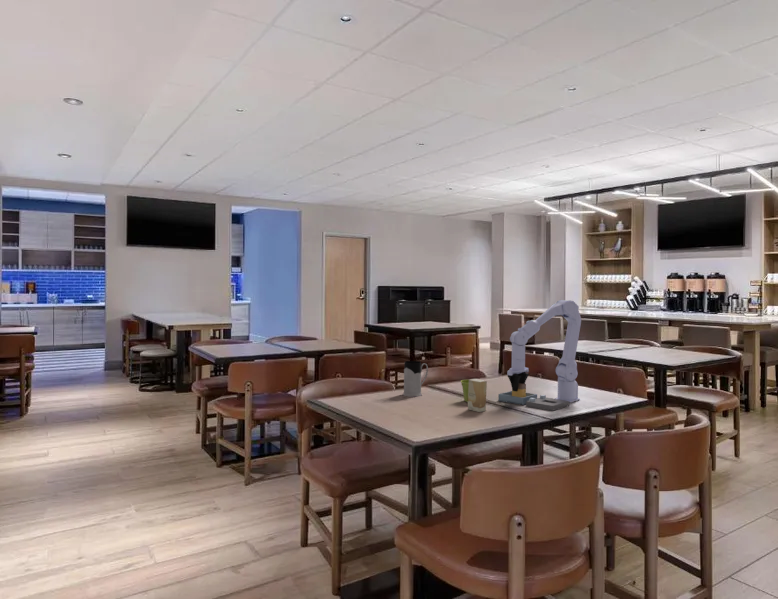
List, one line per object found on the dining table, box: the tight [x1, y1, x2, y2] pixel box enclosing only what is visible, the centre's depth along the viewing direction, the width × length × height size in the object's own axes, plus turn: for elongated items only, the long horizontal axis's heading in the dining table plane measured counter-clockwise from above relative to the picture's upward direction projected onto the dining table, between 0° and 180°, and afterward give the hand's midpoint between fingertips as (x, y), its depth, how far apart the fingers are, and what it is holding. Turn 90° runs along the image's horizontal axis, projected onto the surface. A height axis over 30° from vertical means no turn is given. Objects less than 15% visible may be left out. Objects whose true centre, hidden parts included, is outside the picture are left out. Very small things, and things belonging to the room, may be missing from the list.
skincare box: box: [467, 378, 488, 413], centre depth 219 cm, size 6×4×12 cm
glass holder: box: [402, 360, 429, 398], centre depth 252 cm, size 9×14×15 cm, turn 132°
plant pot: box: [460, 379, 470, 403], centre depth 237 cm, size 9×9×9 cm
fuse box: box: [525, 394, 570, 412], centre depth 228 cm, size 14×12×3 cm
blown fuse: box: [511, 383, 527, 398], centre depth 238 cm, size 3×5×7 cm, turn 46°
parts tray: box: [497, 390, 538, 406], centre depth 238 cm, size 12×12×3 cm
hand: (517, 390), depth 238 cm, fingers open, 4 cm apart
